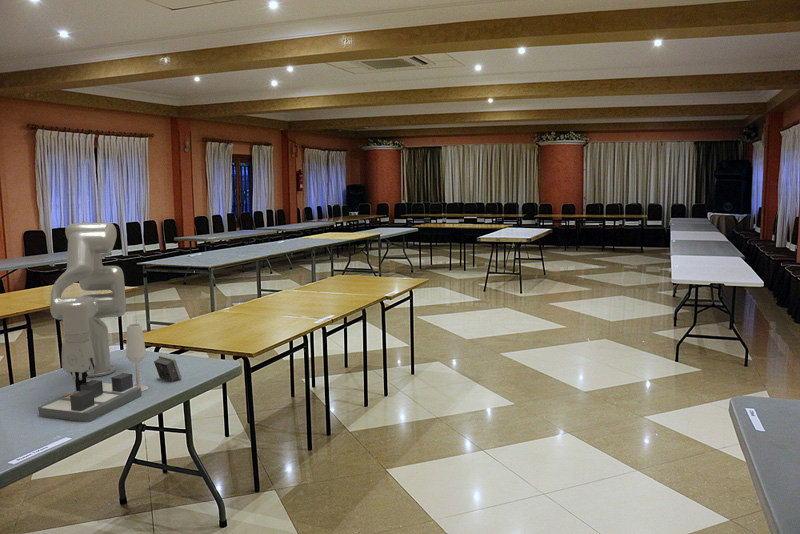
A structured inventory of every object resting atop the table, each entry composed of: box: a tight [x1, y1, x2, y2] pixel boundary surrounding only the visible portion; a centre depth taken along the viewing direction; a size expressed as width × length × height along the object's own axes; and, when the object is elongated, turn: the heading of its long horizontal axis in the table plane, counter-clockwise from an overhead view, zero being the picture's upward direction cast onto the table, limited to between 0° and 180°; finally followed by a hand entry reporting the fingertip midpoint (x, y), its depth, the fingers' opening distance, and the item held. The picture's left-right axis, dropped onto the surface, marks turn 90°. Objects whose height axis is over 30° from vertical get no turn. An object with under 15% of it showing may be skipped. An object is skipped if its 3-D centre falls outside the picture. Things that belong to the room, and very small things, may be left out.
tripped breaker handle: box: [80, 379, 103, 397], centre depth 202 cm, size 4×6×4 cm
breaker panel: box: [37, 372, 142, 423], centre depth 202 cm, size 20×25×8 cm
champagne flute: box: [125, 323, 149, 392], centre depth 217 cm, size 7×7×24 cm
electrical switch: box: [153, 354, 182, 383], centre depth 228 cm, size 9×5×9 cm, turn 57°
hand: (81, 389), depth 203 cm, fingers closed
